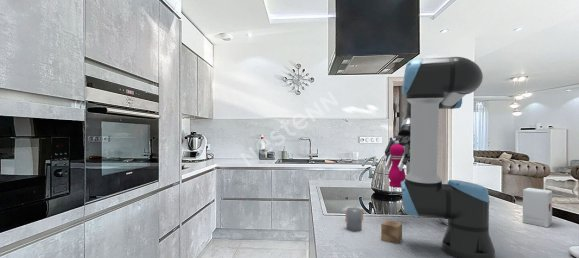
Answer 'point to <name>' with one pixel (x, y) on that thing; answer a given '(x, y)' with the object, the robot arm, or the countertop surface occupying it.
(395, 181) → the pepper mill
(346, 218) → the terracotta brick
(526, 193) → the supplement box
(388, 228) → the walnut block
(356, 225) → the charcoal canister
